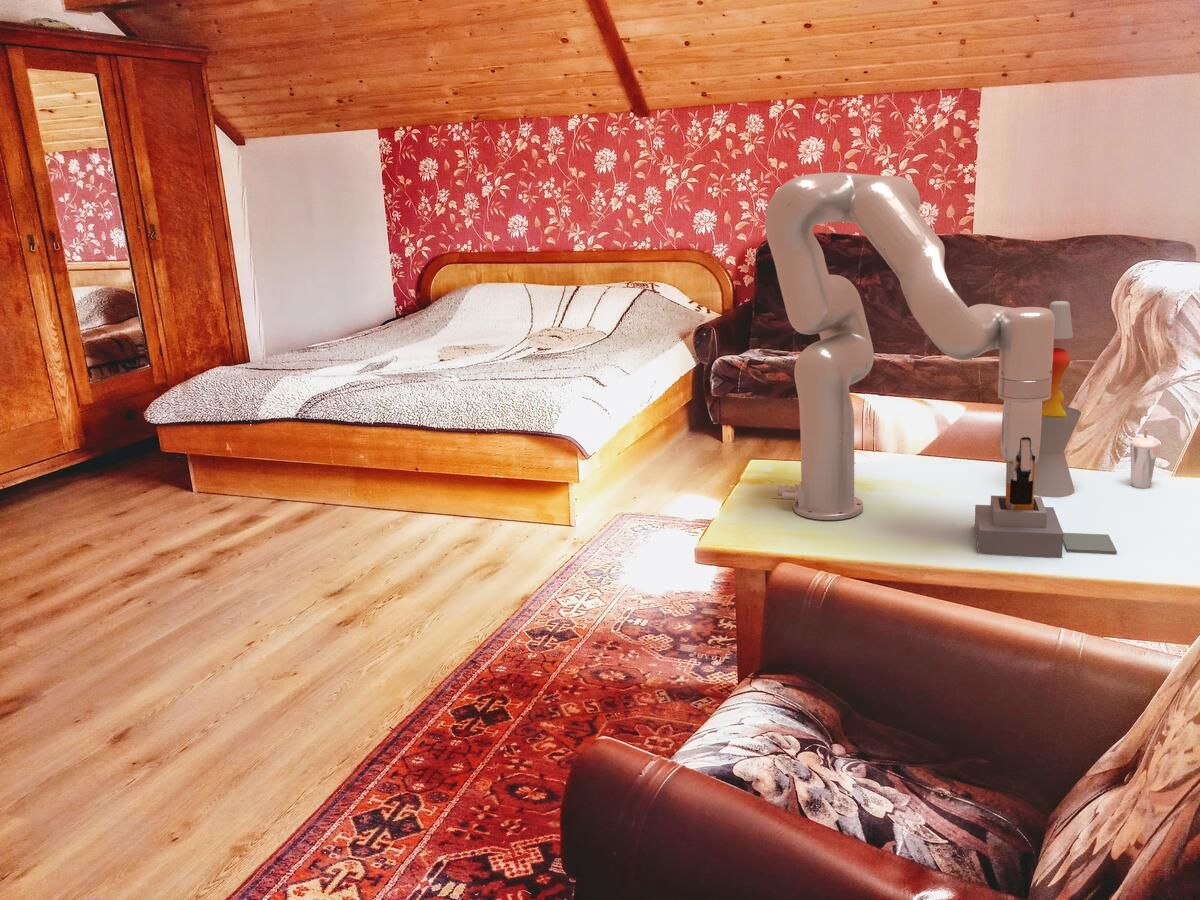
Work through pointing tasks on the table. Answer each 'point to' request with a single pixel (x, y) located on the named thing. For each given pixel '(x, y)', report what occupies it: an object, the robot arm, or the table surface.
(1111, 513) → the table surface
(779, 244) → the robot arm
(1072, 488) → the lava lamp
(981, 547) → the frame
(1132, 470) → the milkshake
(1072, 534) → the rest mat
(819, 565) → the table surface
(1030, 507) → the supplement box
